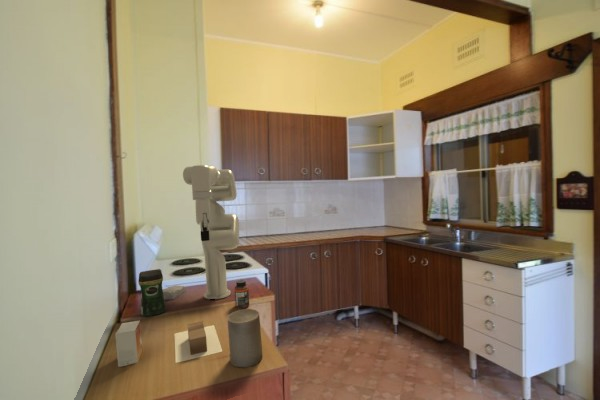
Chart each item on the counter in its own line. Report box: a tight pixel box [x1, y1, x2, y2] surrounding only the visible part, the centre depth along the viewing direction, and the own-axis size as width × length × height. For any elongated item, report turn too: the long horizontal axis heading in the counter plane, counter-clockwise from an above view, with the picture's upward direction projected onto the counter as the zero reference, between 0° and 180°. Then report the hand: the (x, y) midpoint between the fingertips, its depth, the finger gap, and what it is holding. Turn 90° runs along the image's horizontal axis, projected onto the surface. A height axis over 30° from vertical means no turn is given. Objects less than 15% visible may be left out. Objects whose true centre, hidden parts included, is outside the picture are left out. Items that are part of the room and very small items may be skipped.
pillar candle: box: [226, 308, 263, 368], centre depth 96 cm, size 10×10×15 cm
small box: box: [114, 320, 143, 368], centre depth 99 cm, size 8×6×10 cm
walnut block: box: [187, 321, 207, 355], centre depth 106 cm, size 5×5×12 cm
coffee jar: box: [137, 268, 167, 317], centre depth 135 cm, size 10×8×19 cm
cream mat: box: [174, 324, 223, 364], centre depth 108 cm, size 21×14×1 cm, turn 22°
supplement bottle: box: [234, 279, 250, 309], centre depth 138 cm, size 6×6×11 cm
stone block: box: [162, 284, 186, 301], centre depth 157 cm, size 12×5×10 cm
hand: (205, 240), depth 129 cm, fingers closed
